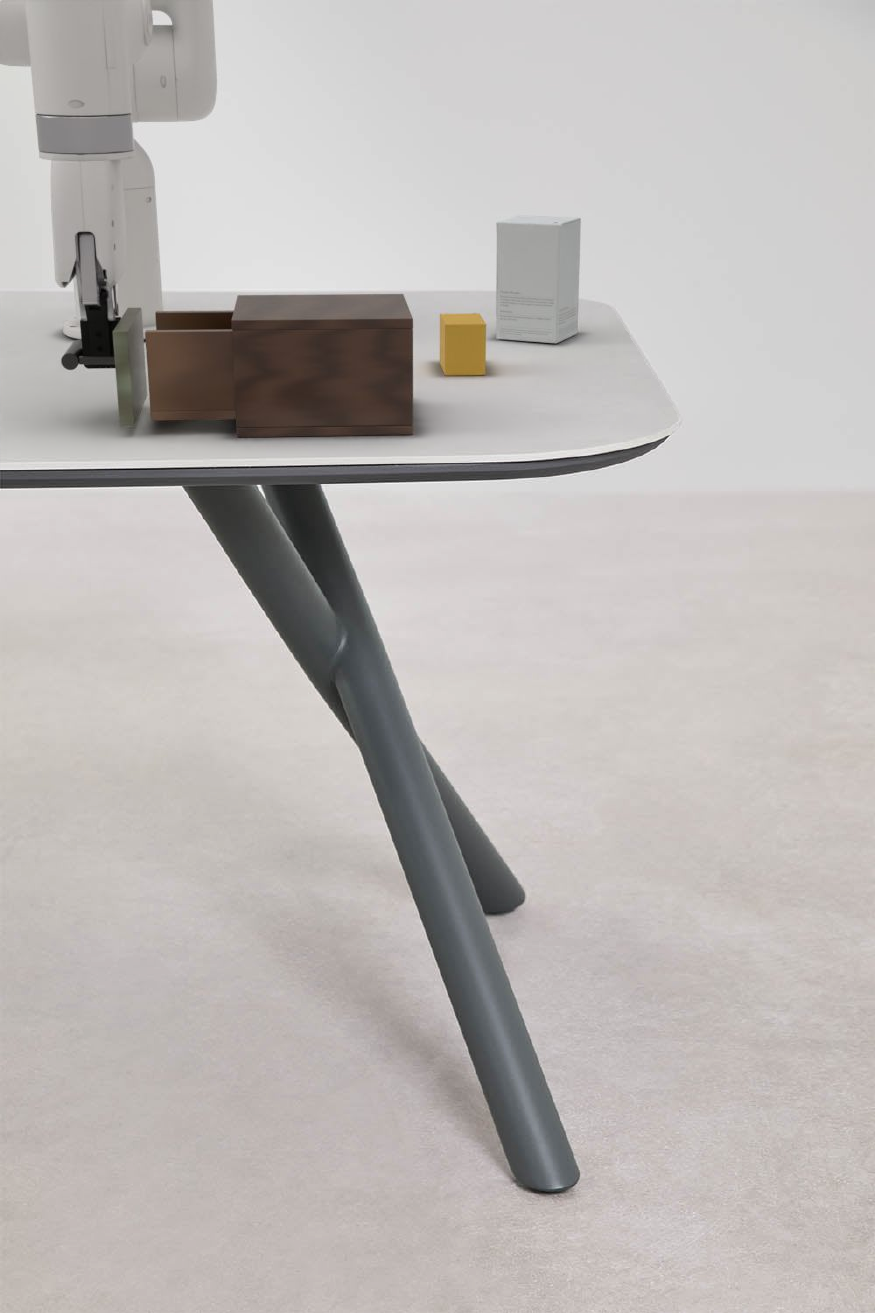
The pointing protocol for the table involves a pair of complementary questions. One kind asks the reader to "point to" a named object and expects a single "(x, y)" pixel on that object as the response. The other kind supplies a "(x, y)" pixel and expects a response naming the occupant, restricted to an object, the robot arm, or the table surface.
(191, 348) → the drawer
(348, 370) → the cabinet
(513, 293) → the white packaging box
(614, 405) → the table surface
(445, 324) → the yellow box
